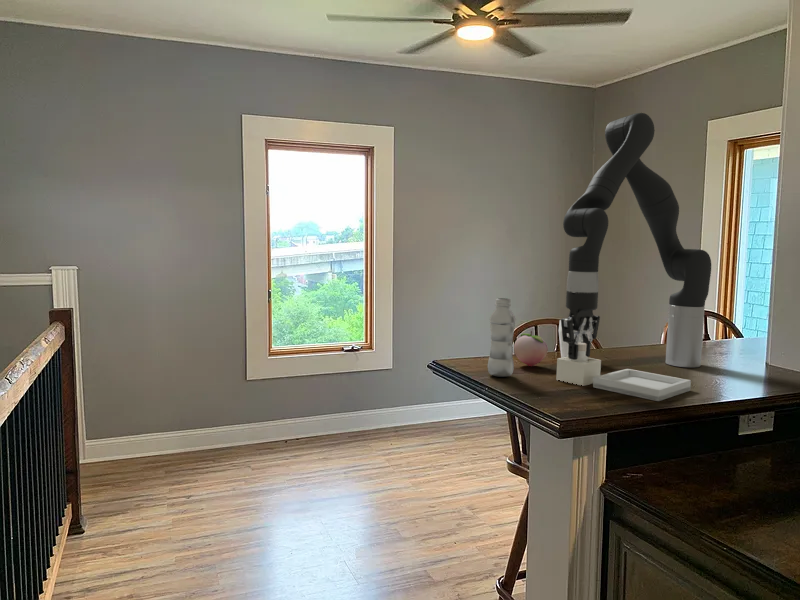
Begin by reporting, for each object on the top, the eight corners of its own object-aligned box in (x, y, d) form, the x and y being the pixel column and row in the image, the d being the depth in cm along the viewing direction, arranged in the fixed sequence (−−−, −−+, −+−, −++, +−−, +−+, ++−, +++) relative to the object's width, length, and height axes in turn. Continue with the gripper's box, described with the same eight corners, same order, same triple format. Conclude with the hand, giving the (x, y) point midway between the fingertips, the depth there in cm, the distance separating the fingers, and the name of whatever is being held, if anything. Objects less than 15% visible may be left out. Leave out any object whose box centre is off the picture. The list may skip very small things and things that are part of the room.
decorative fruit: (506, 365, 168) (507, 330, 167) (526, 362, 172) (527, 327, 171) (532, 371, 160) (533, 334, 159) (552, 368, 165) (553, 332, 164)
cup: (591, 365, 170) (593, 323, 169) (558, 363, 172) (560, 321, 170) (587, 359, 179) (589, 319, 177) (556, 357, 180) (558, 318, 179)
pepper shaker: (570, 378, 153) (572, 341, 152) (586, 379, 151) (588, 342, 150) (568, 381, 149) (570, 343, 148) (585, 383, 148) (587, 345, 147)
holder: (573, 376, 155) (574, 355, 155) (599, 381, 150) (601, 359, 149) (556, 380, 150) (557, 358, 150) (583, 385, 145) (584, 363, 144)
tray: (626, 378, 154) (627, 368, 154) (690, 390, 142) (690, 380, 142) (593, 387, 144) (593, 376, 143) (658, 401, 132) (659, 390, 131)
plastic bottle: (491, 372, 158) (494, 297, 156) (516, 375, 155) (519, 298, 153) (483, 377, 152) (486, 298, 150) (509, 380, 149) (512, 300, 147)
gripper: (584, 287, 155) (581, 352, 157) (552, 289, 146) (549, 358, 148) (611, 289, 150) (607, 357, 151) (579, 292, 140) (576, 363, 142)
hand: (579, 357), depth 150 cm, fingers closed on pepper shaker, 5 cm apart
